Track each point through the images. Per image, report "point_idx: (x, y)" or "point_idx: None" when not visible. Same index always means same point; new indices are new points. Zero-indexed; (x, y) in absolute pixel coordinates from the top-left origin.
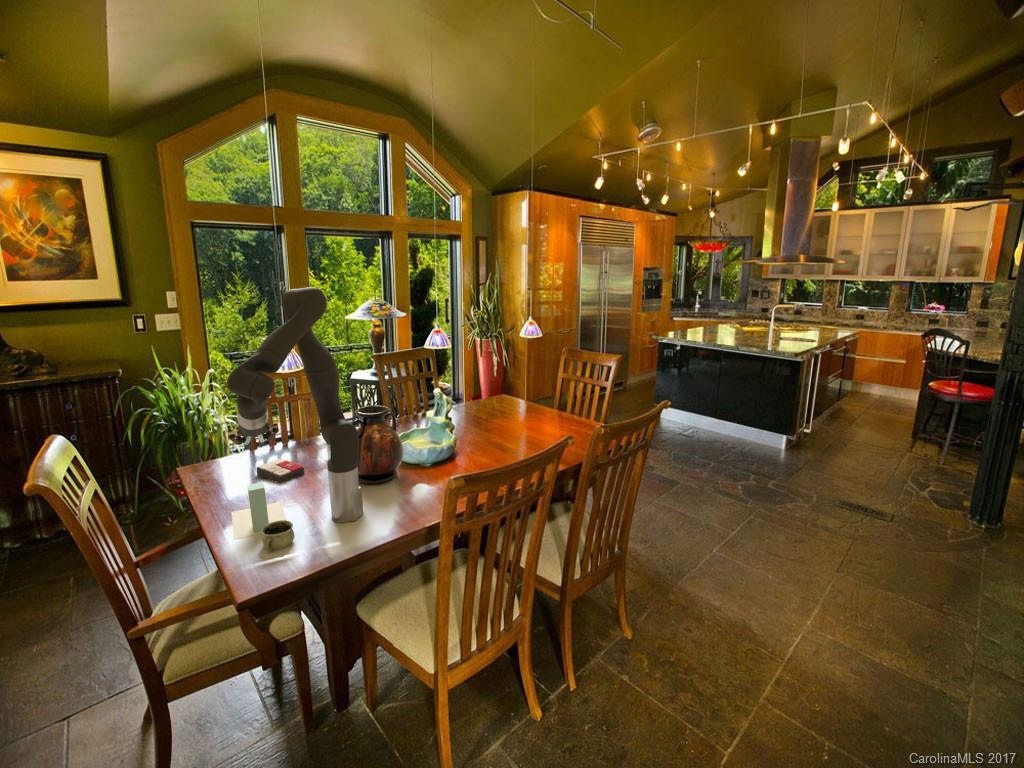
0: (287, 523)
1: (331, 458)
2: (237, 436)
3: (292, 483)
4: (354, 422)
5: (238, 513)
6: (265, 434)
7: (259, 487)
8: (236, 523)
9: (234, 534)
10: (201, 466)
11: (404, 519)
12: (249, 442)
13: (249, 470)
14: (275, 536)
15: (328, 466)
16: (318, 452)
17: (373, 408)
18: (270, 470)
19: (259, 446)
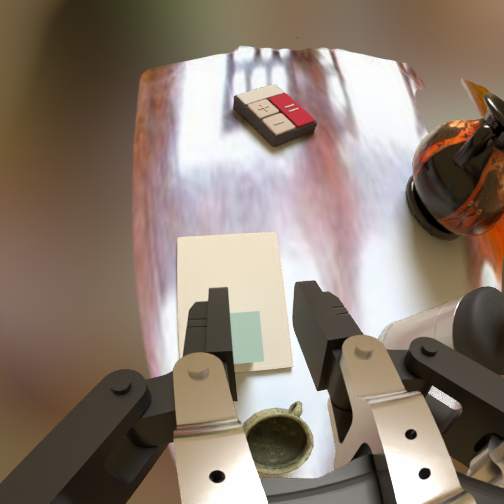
0: (300, 423)
1: (496, 372)
2: (108, 478)
3: (295, 156)
4: (490, 134)
5: (190, 251)
6: (405, 387)
7: (247, 351)
8: (184, 298)
9: (180, 351)
10: (161, 69)
11: None
12: (234, 390)
13: (222, 91)
14: (271, 469)
15: (465, 349)
16: (327, 81)
17: (501, 106)
18: (258, 113)
19: (297, 335)
